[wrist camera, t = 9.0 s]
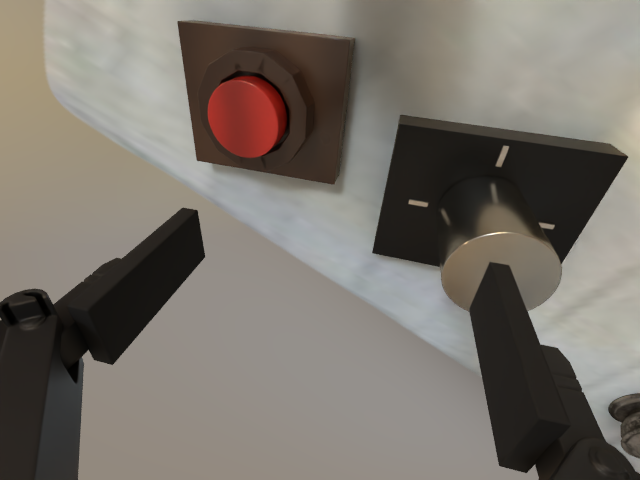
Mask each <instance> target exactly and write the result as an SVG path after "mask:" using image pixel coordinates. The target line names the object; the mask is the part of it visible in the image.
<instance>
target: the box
mask: <svg viewBox="0 0 640 480" xmlns="http://www.w3.org/2000/svg"><path fill="white" fill-rule="evenodd" d="M178 29H179V36H180V43H181V50H182V57H183V64H184V72H185V79H186V86H187V93H188V100H189V107H190V114H191V122H192V129H193V136H194V143H195V150H196V157H197V161H203V162H208V163H214V164H220V165H225V166H231V167H237V168H243V169H248V170H254V171H260V172H265V173H271V174H277V175H283V176H288V177H294V178H300V179H305V180H311V181H317V182H323V183H328V184H335V182H336V180H337V178H338V176H339V171H340V163H341V154H342V146H343V137H344V128H345V120H346V111H347V103H348V94H349V86H350V77H351V68H352V60H353V51H354V43H355V38H352V37H342V36H333V35H324V34H314V33H305V32H296V31H286V30H277V29H268V28H258V27H249V26H240V25H230V24H221V23H212V22H202V21H178ZM241 76H255V77H258V78H261V79H263V80H265V81H266V82H268V83H269V84H270V85H272V86H273V87H274V88H275V90H276V91H277V92H278V93H279V95H280V96H281V98H282V100H283V102H284V105H285V108H286V113H287V126H286V130H285V133H284V135H283V137H282V138H281V140H280V141H279V142H278V143H277V144H276V145H275V146H274V147H273V148H272V149H271V150H270V151H268V152H267V153H266V154H264V155H262V156H259V157H255V158H245V157H240V156H238V155H235V154H233V153H231V152H230V151H228V150H227V149H226V148H225V147H223V146H222V145H221V144H220V142H219V141H218V140H217V138H216V137H215V135H214V134H213V132H212V129H211V127H210V124H209V120H208V104H209V100H210V97H211V95H212V93H213V92H214V90H215V89H216V88H217V87H218V86H219V85H221V84H222V83H224V82H226V81H229V80H232V79H234V78H237V77H241Z"/></svg>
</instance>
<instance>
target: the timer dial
mask: <svg viewBox="0 0 640 480" xmlns="http://www.w3.org/2000/svg"><path fill="white" fill-rule="evenodd" d="M436 224H437V236H438V247H439V259H440V270H441V281H442V286H443V288H444V291H445V292H446V294H447V296H448V297H449V298H450V299H451V300H452V301H453V302H454V303H455V304H456V305H458V306H459V307H461V308H463V309H464V310H467V311H469V308H470V306H471V303H472V301H473V299H474V297H475V294H476V292H477V290H478V288H479V285H480V283H481V281H482V278H483V276H484V274H485V272H486V269H487V267H488V265H489V262H494V263H500V264H506V265H510V268H511V270H512V273H513V276H514V278H515V281H516V283H517V286H518V288H519V291H520V294H521V296H522V299H523V301H524V304H525V307H526V309H527V311H529V310H531V309H534V308H535V307H537V306H539V305H541V304H542V303H543V302H545V301H546V300H547V299H548V298H549V297H550V296H551V295H552V294H553V293H554V292H555V290H556V289H557V287H558V285H559V282H560V279H561V275H562V267H561V262H560V260H559V257H558V255H557V254H556V252H555V250H554V248H553V247H552V245H551V243H550V241H549V240H548V238H547V236H546V234H545V233H544V231H543V229H542V227H541V226H540V224H539V222H538V220H537V219H536V217H535V215H534V213H533V212H532V210H531V208H530V206H529V205H528V203H527V201H526V200H525V198H524V196H523V194H522V193H521V191H520V190H519V189H518V188H517V187H516V186H515V185H514V184H513V183H511V182H509V181H508V180H505V179H503V178H500V177H495V176H476V177H471V178H468V179H465V180H463V181H461V182H459V183H457V184H455V185H454V186H453V187H451V188H450V189H449V190H448V191H447V192H446V193H445V194H444V195H443V197H442V198H441V200H440V202H439V204H438V206H437V210H436ZM469 312H470V311H469Z"/></svg>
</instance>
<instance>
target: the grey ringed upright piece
mask: <svg viewBox="0 0 640 480" xmlns="http://www.w3.org/2000/svg"><path fill="white" fill-rule="evenodd" d="M609 413H610V415H611V416H612V417H613V418H614V419H615V420H617V421H620V422H622V424H621V438H622V440H621V446H622V448H623V449H624V451H626V452H627V453H628V454H630V455H632V456H634V457H636V458H640V394H632V395H627V396H624V397H620V398H618V399H616V400H615V401H613V402H612V403H611V404H610V406H609Z"/></svg>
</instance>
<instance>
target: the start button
mask: <svg viewBox="0 0 640 480" xmlns="http://www.w3.org/2000/svg"><path fill="white" fill-rule="evenodd" d="M208 120H209V124H210V127H211V129H212V132H213V134H214V135H215V137H216V138H217V140H218V141H219V142H220V144H221V145H222V146H223V147H225V148H226V149H227V150H228V151H230V152H231V153H233V154H235V155H238V156H240V157H245V158H255V157H259V156H262V155H264V154H266V153H267V152H268V151H270V150H271V149H272V148H273V147H274V146H275V145H276V144H277V143H278V142H279V141H280V140H281V138H282V137H283V135H284V133H285V130H286V126H287V113H286V108H285V105H284V102H283V100H282V98H281V96H280V95H279V93H278V92H277V91H276V90H275V88H274V87H273V86H272V85H270V84H269V83H268V82H266V81H265V80H263V79H261V78H258V77H255V76H241V77H237V78H234V79H232V80H229V81H226V82H224V83H222V84H221V85H219V86H218V87H217V88H216V89H215V90H214V92H213V93H212V95H211V97H210V100H209V104H208Z"/></svg>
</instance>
